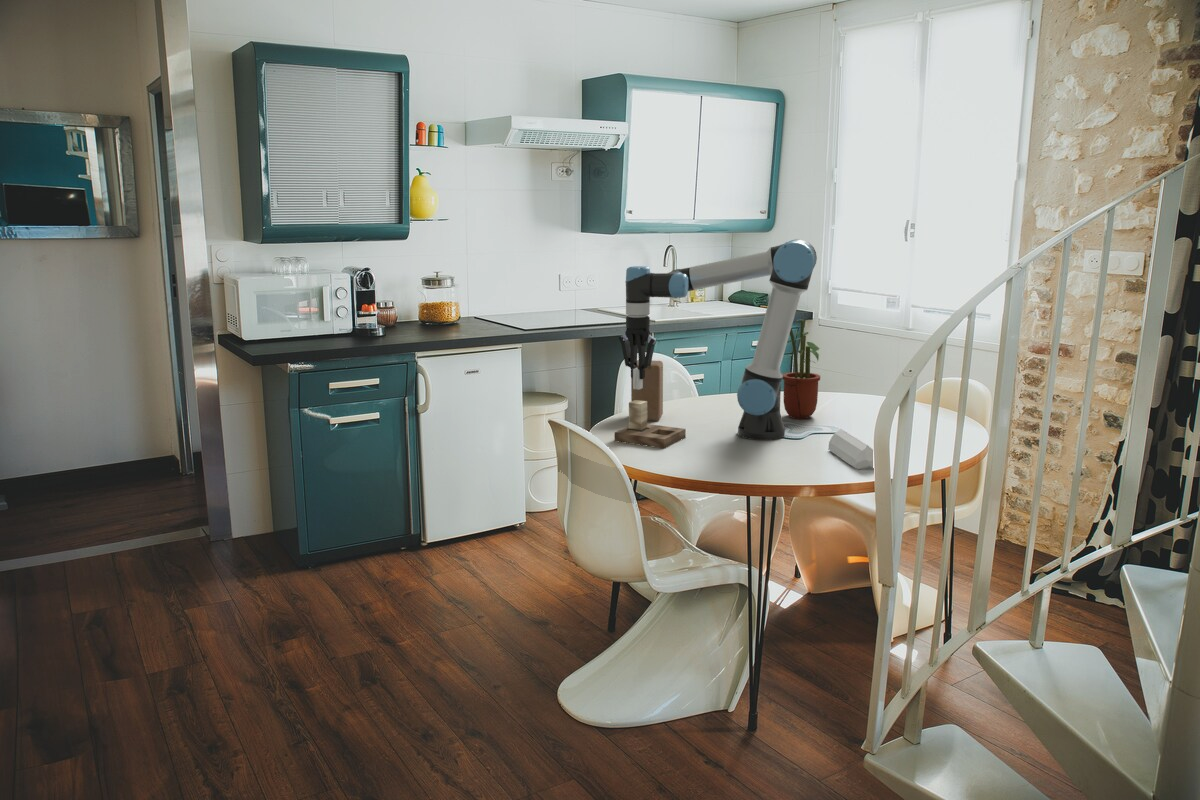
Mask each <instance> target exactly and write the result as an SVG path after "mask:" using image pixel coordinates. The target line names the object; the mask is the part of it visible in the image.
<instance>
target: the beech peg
mask: <svg viewBox="0 0 1200 800" xmlns="http://www.w3.org/2000/svg"><path fill="white" fill-rule="evenodd" d="M647 424H648V421H647V401H640V400H634V401H632V402H631V401H630V402H628V426H629V430H630V431H638V432H643V431H645V430H647V428H648V427H647Z"/></svg>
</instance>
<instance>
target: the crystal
mask: <svg viewBox="0 0 1200 800" xmlns="http://www.w3.org/2000/svg"><path fill="white" fill-rule="evenodd" d="M827 450H829V451H830V452H831V453H833V454H834V455H835V456H837V457H838V458H840V459H841V460H843V461H844V462H846V463H847V464H848V465H850V466H851V467H853V468H854V469H858V470H871V469H873V450H874V449H873V448H872V447H871V446H869V445H868V444H867V443H865V442H863V441H862V440H861V439H859V438H858V437H855V436H854V435H852V434H850V433H848V431H846V430H844V429H843V428H839V429H837V430H836V431H835V432H834V433H833V435H832V436H831V438H830V439H829V441H828V449H827Z"/></svg>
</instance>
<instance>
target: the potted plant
mask: <svg viewBox="0 0 1200 800" xmlns="http://www.w3.org/2000/svg"><path fill="white" fill-rule="evenodd" d="M798 321H800V330H799V331H796V332H795V334H796V336H798V335H799V334H800V337H797V338H795V334H794V330H793V328H792V327H791V330H790V334H789V337H790V340H789V339H788V341H787V344H788V343H791V346H792V351H793V352H792V353H793V354H789V355H786V356H784V357H783V359H782V360H784V359H786V358H788V357H792V356H793V361H794V371H792V372H786V373H782V375H783V377H782V380H783V405H784V406H783V407H784V410H785V412H786V414H787V415H788V416H790V418H792V419H799V420H802V419H803V420H805V419H808V418H810V417H812V416H813V414H814V413H815V411H816V409H817V405H818V398H819V396H818V395H819V382H820V380H821V375H820V374H817V373H813V372H811V363H814V364H816V362H819V359H820V354H819V353H818V351H819V350H820V349H821V348H820V347H819V346H818V345H816V344H815V343H814V342H812V341H807V335H809V332H808V331H806V332H805V330H804V329H805V319H802V318H801V319H797V322H798ZM793 324H795V322H793V323H792V325H793ZM797 340H800V342H799V343H800V344H799V350H797V347H796V341H797ZM806 341H807V342H806ZM811 353H812V354H813V356H814V357H815V358H816V360H817V361H816V362H815V361H813V360H811ZM797 354H799V364H798V355H797ZM798 365H799V366H798ZM798 367H799V368H798Z"/></svg>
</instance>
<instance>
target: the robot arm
mask: <svg viewBox="0 0 1200 800" xmlns="http://www.w3.org/2000/svg"><path fill="white" fill-rule="evenodd" d="M817 259H818V258H817V252H816V249H815V247H814V246H813V245H812V244H811V243H810V242H808V241H807V240H804V239H799V238H797V239H796V238H795V239H791V240H789V241H786V242H784V243H782V244H778V245H775V246H771V247H769V248H768V249H767V251H763V252H758V253H757V252H756V253H753V254H748V255H743V256H739V257H738V256H737V257H733V258H729V259H724V260H717V261H714V262H709V263H705V264H700V265H698V264H697V265H695V266H690V267H684V268H676V269H673V270H671V271H669V272H666V273H665V272H664V273H661V272H659V273H658V272H657V273H656V272H655V273H654V272H651V271H650V267H649V266H643V265H636V266H635V265H634V266H629V267H627V268H626V269H625V271H626V272H625V315H626V317H625V328H626V330H625V332H624V334H623V335H620V336H619V337H618V340H619V342H620V345H621V350H622V354H623V356H622V357H623V361H624V364H625V367H627V368H630V379H631V378H633V389H637V390H639V389H642V388H643V379H644V378H645V368H647V367H650V366H651V361H653V355H654V351H655V345H656V344H657V341H658V338H657V337H653V336H652V335H651V332H650V326H651V325H650V321H651V319H650V318H651V317H650V316H649V315H650V312H651V311H650V308H651V306H650V303H651V302H650V301H651V300H650V298H670V299H673V298H674V299H679V298H681V299H683V298H685V297H687V296H688V293H689V292H692V291H695V290H701V289H707V288H712V287H716V286H718V287H719V286H722V285H727V284H732V283H738V282H743V281H748V280H754V279H757V278H764V277H769V280H768V282H769V283H770V284H771V287H772V289H771V292H770V295H769V300H768V303H767V308H766V311H765V315H764V319H763V322H762V325H761V329H760V331H759V336H758V341H757V343H756V347H755V351H754V355H753V358H752V362H750V363H749V364H747V365H746V366H745V367H744V372H743V377H742V379H741V384H740V386H739V387H738V389H737V392H736V397H737V402H738V406H739V407H740V408H741V409H742V410H743V413H742V415H741V418H740V421H739V425H738V427H737V435H738V436H739V437H742V438H745V439H748V440H754V441H755V440H756V441H772V440H779V439H782V438H784V437H785V436H786V435H785V434H786V433H785V432H786V428H785V424H784V421H783V418H782V415H781V393H782V392H781V389H782V380H783V379H782V377H783V373H782V369H781V365H782V362H783V360H784V359H783V358H784V355H785V352H786V347H787V344H788V343H787V341H788V340H789V338H790V330H791V328H792V326H793V323H794V320H795V316H796V312H797V309H798V304H799V301H800V299H801V298H800V297H801V295H802V294H803V293H805V292H806V291H808V289H809V285H810V281H811V278H812V274H813V271H814V268H815V267H816V264H817ZM646 346H647V347H646ZM637 360H639V368H636V367H638V366H637ZM784 435H785V436H784Z"/></svg>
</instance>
